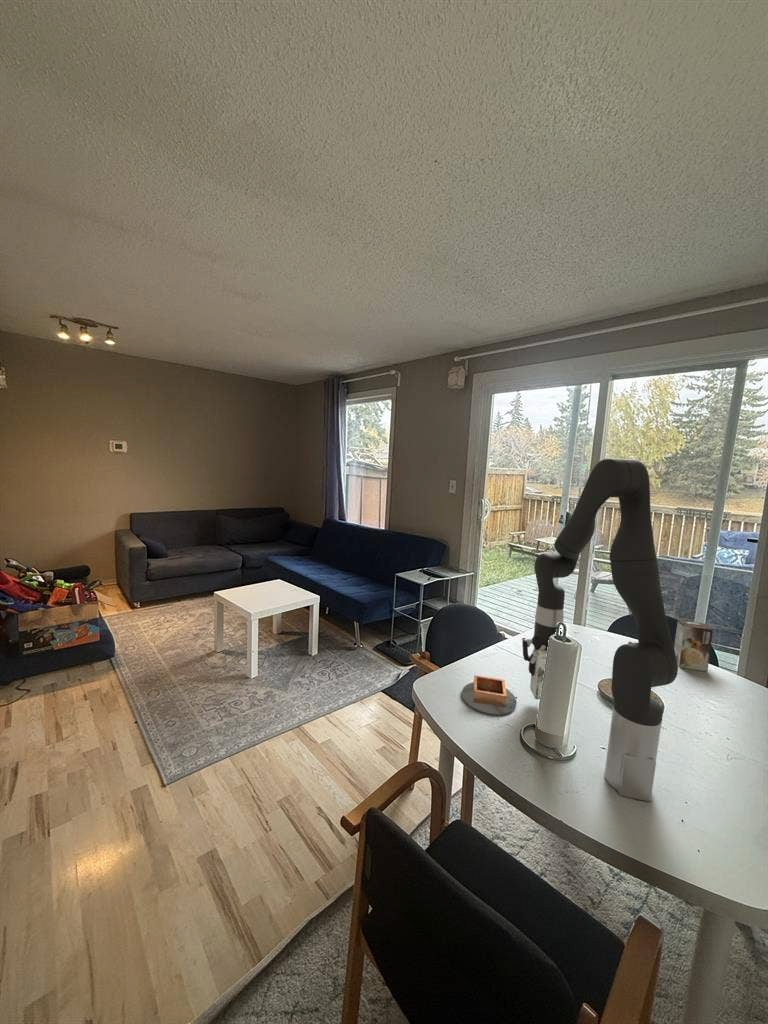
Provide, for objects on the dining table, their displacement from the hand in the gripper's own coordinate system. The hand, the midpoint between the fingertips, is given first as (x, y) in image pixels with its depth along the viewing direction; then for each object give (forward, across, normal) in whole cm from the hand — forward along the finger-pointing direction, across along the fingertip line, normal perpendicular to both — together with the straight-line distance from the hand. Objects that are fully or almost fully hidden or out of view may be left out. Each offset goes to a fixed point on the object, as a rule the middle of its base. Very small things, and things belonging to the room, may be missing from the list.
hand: (544, 675), depth 119 cm
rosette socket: (+10, -15, -1) cm, 18 cm away
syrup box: (+6, 0, 0) cm, 6 cm away
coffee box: (+10, +59, +44) cm, 74 cm away
